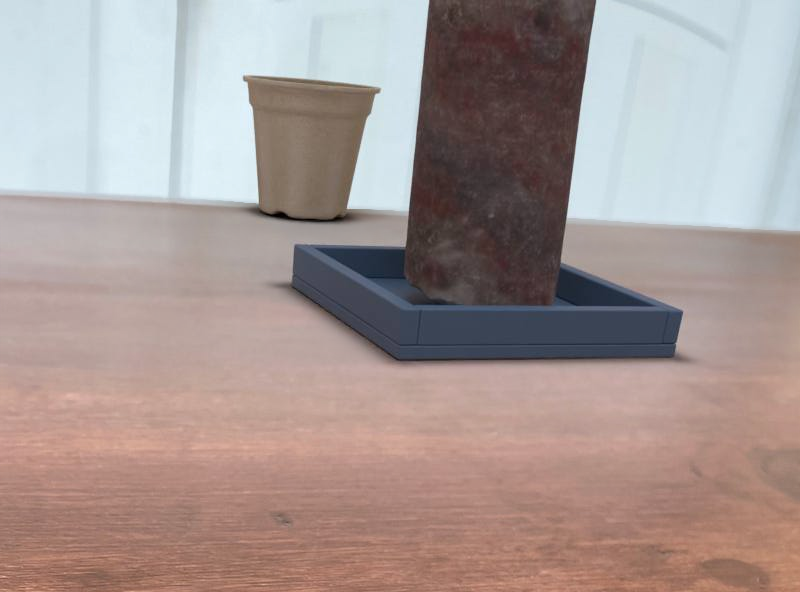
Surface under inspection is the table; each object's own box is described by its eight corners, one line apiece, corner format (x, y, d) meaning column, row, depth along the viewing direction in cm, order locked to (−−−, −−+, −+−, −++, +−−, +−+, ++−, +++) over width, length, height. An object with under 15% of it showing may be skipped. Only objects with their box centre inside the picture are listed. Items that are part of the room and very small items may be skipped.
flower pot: (313, 202, 91) (322, 77, 87) (395, 223, 84) (409, 89, 80) (211, 205, 85) (215, 72, 81) (290, 227, 79) (299, 84, 75)
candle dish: (524, 288, 66) (529, 249, 65) (674, 357, 54) (684, 310, 53) (291, 285, 61) (293, 243, 60) (397, 360, 49) (403, 308, 48)
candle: (366, 301, 56) (414, -209, 47) (442, 284, 62) (498, -177, 53) (510, 333, 53) (592, -214, 44) (577, 311, 58) (663, -178, 49)
